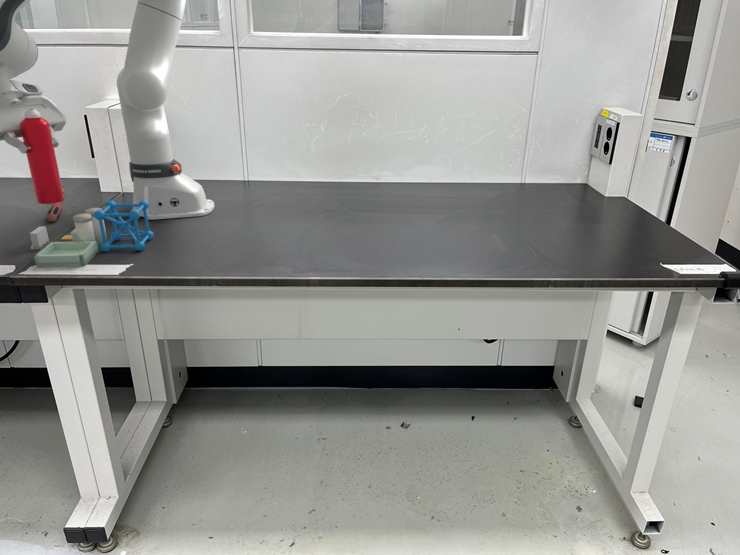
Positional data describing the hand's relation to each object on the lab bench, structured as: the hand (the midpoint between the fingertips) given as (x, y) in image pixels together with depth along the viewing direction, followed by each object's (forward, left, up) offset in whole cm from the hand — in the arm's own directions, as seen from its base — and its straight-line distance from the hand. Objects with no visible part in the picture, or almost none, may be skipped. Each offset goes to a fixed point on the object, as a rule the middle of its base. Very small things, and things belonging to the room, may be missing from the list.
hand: (41, 148), depth 121 cm
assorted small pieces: (-1, +1, -23) cm, 23 cm away
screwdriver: (+14, -32, -24) cm, 42 cm away
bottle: (+1, 0, -12) cm, 12 cm away
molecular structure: (-14, -2, -24) cm, 28 cm away
